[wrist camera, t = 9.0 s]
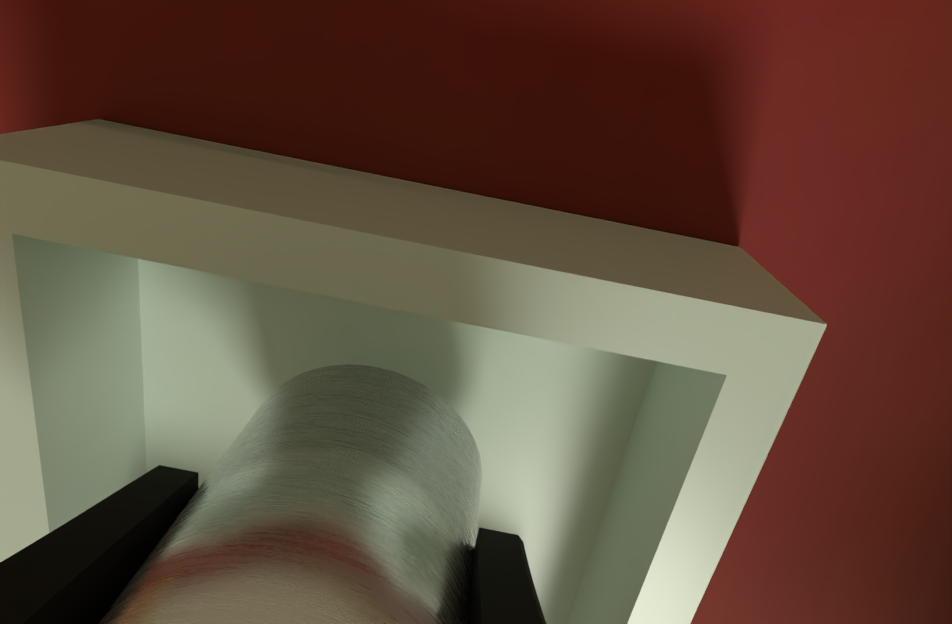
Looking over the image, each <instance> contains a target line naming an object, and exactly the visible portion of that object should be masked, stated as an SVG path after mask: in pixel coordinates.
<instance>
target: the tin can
mask: <svg viewBox="0 0 952 624" xmlns="http://www.w3.org/2000/svg"><path fill="white" fill-rule="evenodd" d="M481 486H482V465H481V459H480V454H479V451H478V448H477V445H476V442H475V440H474V438H473V436H472V434H471V432H470V430H469V428H468V426H467V425H466V424H465V422H464V421H463V419H462V418H461V416H460V415H459V414H458V413H457V412H456V411H455V410H454V409H453V407H452V406H451V405H450V404H449V403H448V402H446V401H445V400H444V399H443V398H442V397H441V396H439V395H438V394H437V393H435V392H434V391H432V390H431V389H429V388H428V387H427V386H425V385H423V384H421V383H419V382H418V381H416V380H414V379H412V378H410V377H407V376H405V375H402V374H399V373H397V372H394V371H390V370H387V369H383V368H379V367H373V366H366V365H345V364H344V365H334V366H326V367H322V368H317V369H313V370H310V371H308V372H305V373H302V374H299V375H297V376H295V377H294V378H292V379H290V380H288V381H286V382H285V383H283V384H282V385H281V386H279V387H278V388H277V389H275V390H274V391H273V392H272V393H271V394H270V395H269V396H268V397H267V398H266V399H265V400H264V402H263V403H262V404H261V406H260V407H259V408H258V410H257V411H256V412H255V414H254V415H253V416H252V418H251V419H250V420H249V422H248V423H247V424H246V426H245V427H244V428H243V430H242V431H241V432H240V434H239V435H238V436H237V438H236V439H235V441H234V442H233V443H232V445H231V446H230V447H229V449H228V450H227V451H226V453H225V454H224V455H223V457H222V458H221V459H220V461H219V462H218V463H217V465H216V466H215V467H214V469H213V470H212V471H211V473H210V474H209V475H208V477H207V478H206V480H205V481H204V482H203V484H202V485H201V486H200V488H199V489H198V490H197V492H196V493H195V494H194V496H193V497H192V498H191V500H190V501H189V502H188V504H187V505H186V506H185V508H184V509H183V510H182V512H181V513H180V514H179V516H178V517H177V519H176V520H175V521H174V523H173V524H172V525H171V527H170V528H169V529H168V531H167V532H166V533H165V535H164V536H163V537H162V539H161V540H160V541H159V543H158V544H157V545H156V547H155V548H154V549H153V551H152V552H151V553H150V555H149V556H148V558H147V559H146V560H145V562H144V563H143V564H142V566H141V567H140V568H139V570H138V571H137V572H136V574H135V575H134V576H133V578H132V579H131V580H130V582H129V583H128V584H127V586H126V587H125V588H124V590H123V591H122V593H121V594H120V595H119V597H118V598H117V599H116V601H115V602H114V603H113V605H112V606H111V607H110V609H109V610H108V611H107V613H106V614H105V615H104V617H103V618H102V619H101V621H100V622H99V623H98V624H468V608H469V596H470V586H471V575H472V565H473V555H474V547H475V543H476V539H477V529H478V518H479V507H480V497H481Z"/></svg>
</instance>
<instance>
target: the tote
mask: <svg viewBox="0 0 952 624" xmlns="http://www.w3.org/2000/svg"><path fill="white" fill-rule="evenodd" d="M826 326H827V324H826V323H825V322H824V321H823V320H822V319H820V318H819V317H818V316H817V315H816V314H815V313H814V312H813V311H811V310H810V309H809V308H808V307H807V306H806V305H805V304H804V303H802V302H801V301H800V300H799V299H798V298H797V297H796V296H795V295H793V294H792V293H791V292H790V291H789V290H788V289H787V288H786V287H784V286H783V285H782V284H781V283H780V282H779V281H778V280H777V279H775V278H774V277H773V276H772V275H771V274H770V273H769V272H768V271H766V270H765V269H764V268H763V267H762V266H761V265H760V264H759V263H757V262H756V261H755V260H754V259H753V258H752V257H751V256H750V255H748V254H747V253H746V252H745V251H744V250H743V249H742V248H741V247H737V246H732V245H727V244H722V243H717V242H712V241H707V240H702V239H697V238H692V237H687V236H682V235H677V234H672V233H667V232H662V231H657V230H652V229H647V228H642V227H637V226H632V225H627V224H622V223H617V222H612V221H607V220H602V219H597V218H592V217H587V216H582V215H577V214H572V213H567V212H562V211H557V210H552V209H547V208H542V207H537V206H532V205H527V204H522V203H517V202H512V201H507V200H502V199H497V198H492V197H487V196H482V195H477V194H472V193H467V192H462V191H457V190H452V189H447V188H442V187H437V186H432V185H426V184H421V183H416V182H411V181H406V180H401V179H396V178H391V177H386V176H381V175H376V174H371V173H366V172H361V171H356V170H351V169H346V168H341V167H336V166H331V165H326V164H321V163H316V162H311V161H306V160H301V159H296V158H291V157H286V156H281V155H276V154H271V153H266V152H261V151H256V150H251V149H246V148H241V147H236V146H231V145H226V144H221V143H216V142H211V141H206V140H201V139H196V138H191V137H186V136H181V135H176V134H171V133H166V132H161V131H156V130H151V129H146V128H141V127H136V126H131V125H126V124H121V123H116V122H111V121H106V120H101V119H95V120H89V121H83V122H76V123H70V124H63V125H57V126H50V127H44V128H37V129H31V130H25V131H18V132H12V133H5V134H0V562H2V561H4V560H5V559H7V558H9V557H10V556H12V555H14V554H15V553H17V552H19V551H20V550H22V549H24V548H25V547H27V546H29V545H30V544H32V543H33V542H35V541H37V540H38V539H40V538H42V537H43V536H45V535H47V534H48V533H50V532H52V531H53V530H55V529H57V528H58V527H60V526H62V525H63V524H65V523H67V522H68V521H70V520H71V519H73V518H75V517H76V516H78V515H79V514H81V513H83V512H84V511H86V510H87V509H89V508H91V507H92V506H94V505H95V504H97V503H99V502H100V501H102V500H103V499H105V498H107V497H108V496H110V495H111V494H113V493H115V492H116V491H118V490H119V489H121V488H123V487H124V486H126V485H128V484H129V483H131V482H132V481H134V480H136V479H137V478H139V477H140V476H142V475H144V474H145V473H147V472H149V471H150V470H152V469H154V468H155V467H157V466H159V465H162V466H167V467H172V468H178V469H183V470H188V471H193V472H198V489H199V488H200V486H201V485H202V484H203V482H204V481H205V480H206V478H207V477H208V475H209V474H210V473H211V471H212V470H213V469H214V467H215V466H216V465H217V463H218V462H219V461H220V459H221V458H222V457H223V455H224V454H225V453H226V451H227V450H228V449H229V447H230V446H231V445H232V443H233V442H234V441H235V439H236V438H237V436H238V435H239V434H240V432H241V431H242V430H243V428H244V427H245V426H246V424H247V423H248V422H249V420H250V419H251V418H252V416H253V415H254V414H255V412H256V411H257V410H258V408H259V407H260V406H261V404H262V403H263V402H264V400H265V399H266V398H267V397H268V396H269V395H270V394H271V393H272V392H273V391H274V390H275V389H277V388H278V387H279V386H281V385H282V384H283V383H285V382H286V381H288V380H290V379H292V378H294V377H295V376H297V375H299V374H302V373H305V372H308V371H310V370H313V369H317V368H322V367H326V366H334V365H344V364H345V365H366V366H373V367H379V368H383V369H387V370H390V371H394V372H397V373H399V374H402V375H405V376H407V377H410V378H412V379H414V380H416V381H418V382H419V383H421V384H423V385H425V386H427V387H428V388H429V389H431V390H432V391H434V392H435V393H437V394H438V395H439V396H441V397H442V398H443V399H444V400H445V401H446V402H448V403H449V404H450V405H451V406H452V407H453V409H454V410H455V411H456V412H457V413H458V414H459V415H460V416H461V418H462V419H463V421H464V422H465V424H466V425H467V426H468V428H469V430H470V432H471V434H472V436H473V438H474V440H475V442H476V445H477V448H478V451H479V454H480V459H481V465H482V486H481V497H480V507H479V518H478V529H477V535H478V531H479V527H480V528H485V529H490V530H495V531H500V532H505V533H510V534H516V535H519V537H520V538H521V540H522V541H523V542H524V547H525V552H526V556H527V560H528V564H529V568H530V572H531V576H532V579H533V583H534V586H535V590H536V593H537V596H538V599H539V602H540V606H541V609H542V612H543V615H544V618H545V621H546V624H690V623H691V621H692V618H693V616H694V614H695V612H696V610H697V607H698V605H699V603H700V601H701V599H702V597H703V594H704V592H705V590H706V588H707V586H708V583H709V581H710V579H711V577H712V575H713V573H714V570H715V568H716V566H717V564H718V562H719V560H720V557H721V555H722V553H723V551H724V549H725V546H726V544H727V542H728V540H729V538H730V536H731V533H732V531H733V529H734V527H735V525H736V522H737V520H738V518H739V516H740V514H741V512H742V509H743V507H744V505H745V503H746V501H747V498H748V496H749V494H750V492H751V490H752V488H753V485H754V483H755V481H756V479H757V477H758V474H759V472H760V470H761V468H762V466H763V464H764V461H765V459H766V457H767V455H768V453H769V451H770V448H771V446H772V444H773V442H774V440H775V437H776V435H777V433H778V431H779V429H780V427H781V424H782V422H783V420H784V418H785V416H786V413H787V411H788V409H789V407H790V405H791V403H792V400H793V398H794V396H795V394H796V392H797V389H798V387H799V385H800V383H801V381H802V379H803V376H804V374H805V372H806V370H807V368H808V365H809V363H810V361H811V359H812V357H813V355H814V352H815V350H816V348H817V346H818V344H819V341H820V339H821V337H822V335H823V333H824V331H825V328H826Z"/></svg>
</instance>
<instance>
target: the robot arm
mask: <svg viewBox="0 0 952 624" xmlns="http://www.w3.org/2000/svg"><path fill="white" fill-rule="evenodd" d="M197 490H198V472H193V471H188V470H183V469H178V468H172V467H167V466H162V465H159V466H157V467H155V468H154V469H152V470H150V471H149V472H147V473H145V474H144V475H142V476H140V477H139V478H137V479H136V480H134V481H132V482H131V483H129V484H128V485H126V486H124V487H123V488H121V489H119V490H118V491H116V492H115V493H113V494H111V495H110V496H108V497H107V498H105V499H103V500H102V501H100V502H99V503H97V504H95V505H94V506H92V507H91V508H89V509H87V510H86V511H84V512H83V513H81V514H79V515H78V516H76V517H75V518H73V519H71V520H70V521H68V522H67V523H65V524H63V525H62V526H60V527H58V528H57V529H55V530H53V531H52V532H50V533H48V534H47V535H45V536H43V537H42V538H40V539H38V540H37V541H35V542H33V543H32V544H30V545H29V546H27V547H25V548H24V549H22V550H20V551H19V552H17V553H15V554H14V555H12V556H10V557H9V558H7V559H5V560H4V561H2V562H0V624H98V623H99V622H100V621H101V619H102V618H103V617H104V615H105V614H106V613H107V611H108V610H109V609H110V607H111V606H112V605H113V603H114V602H115V601H116V599H117V598H118V597H119V595H120V594H121V593H122V591H123V590H124V588H125V587H126V586H127V584H128V583H129V582H130V580H131V579H132V578H133V576H134V575H135V574H136V572H137V571H138V570H139V568H140V567H141V566H142V564H143V563H144V562H145V560H146V559H147V558H148V556H149V555H150V553H151V552H152V551H153V549H154V548H155V547H156V545H157V544H158V543H159V541H160V540H161V539H162V537H163V536H164V535H165V533H166V532H167V531H168V529H169V528H170V527H171V525H172V524H173V523H174V521H175V520H176V519H177V517H178V516H179V514H180V513H181V512H182V510H183V509H184V508H185V506H186V505H187V504H188V502H189V501H190V500H191V498H192V497H193V496H194V494H195V493H196V492H197ZM468 624H546V621H545V618H544V615H543V612H542V609H541V606H540V602H539V599H538V596H537V593H536V590H535V586H534V583H533V579H532V576H531V572H530V568H529V564H528V560H527V556H526V552H525V547H524V542H523V541H522V540H521V538H520V537H519V535H516V534H510V533H505V532H500V531H495V530H490V529H485V528H480V527H479V531H478V535H477V539H476V543H475V547H474V555H473V565H472V575H471V586H470V596H469V608H468Z"/></svg>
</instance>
